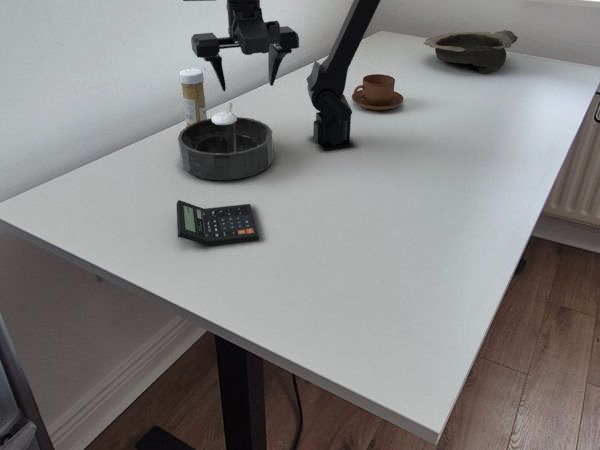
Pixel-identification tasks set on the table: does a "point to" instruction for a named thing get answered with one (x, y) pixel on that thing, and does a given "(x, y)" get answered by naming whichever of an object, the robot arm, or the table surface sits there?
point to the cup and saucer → (377, 93)
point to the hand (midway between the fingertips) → (247, 87)
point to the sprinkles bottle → (193, 95)
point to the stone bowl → (473, 48)
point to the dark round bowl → (225, 166)
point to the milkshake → (225, 131)
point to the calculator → (216, 224)
